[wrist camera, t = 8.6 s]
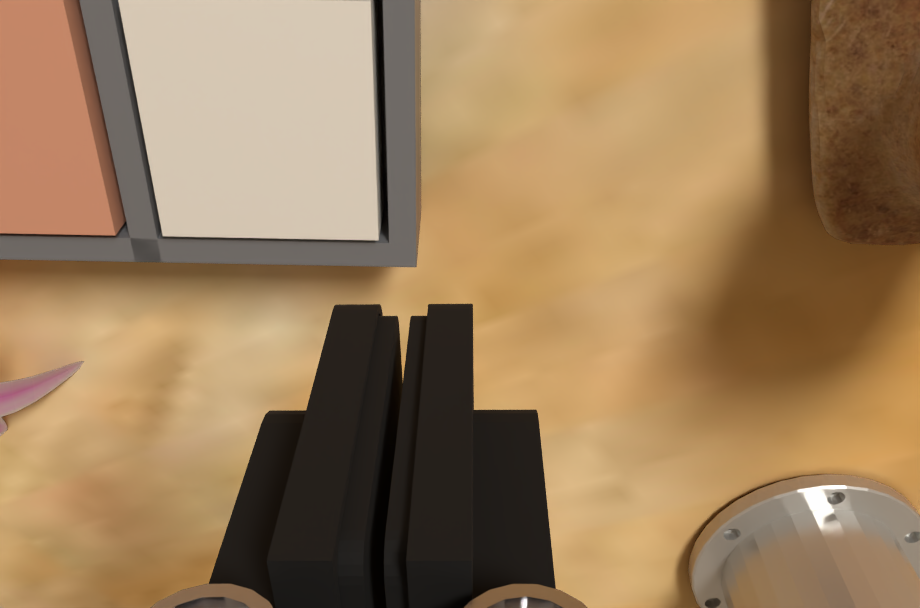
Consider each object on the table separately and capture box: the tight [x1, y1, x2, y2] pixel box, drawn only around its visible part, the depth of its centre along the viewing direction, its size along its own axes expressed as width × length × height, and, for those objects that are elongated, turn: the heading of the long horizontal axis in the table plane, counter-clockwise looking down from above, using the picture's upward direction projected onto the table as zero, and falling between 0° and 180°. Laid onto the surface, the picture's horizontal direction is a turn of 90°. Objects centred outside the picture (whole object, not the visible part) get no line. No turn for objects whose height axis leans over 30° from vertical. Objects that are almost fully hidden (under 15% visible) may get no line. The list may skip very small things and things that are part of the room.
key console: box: [0, 0, 421, 267], centre depth 31 cm, size 11×20×4 cm, turn 89°
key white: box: [118, 0, 384, 240], centre depth 30 cm, size 8×8×2 cm
